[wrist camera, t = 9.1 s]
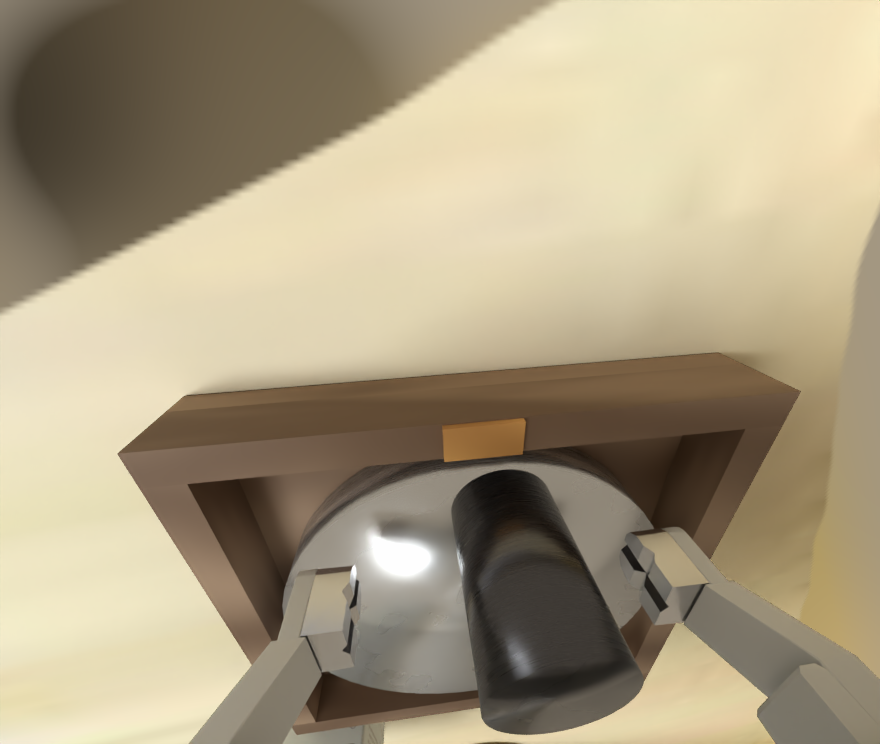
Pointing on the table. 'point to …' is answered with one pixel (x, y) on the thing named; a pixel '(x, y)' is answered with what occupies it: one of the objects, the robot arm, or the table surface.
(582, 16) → the table surface
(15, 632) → the table surface
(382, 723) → the supplement box
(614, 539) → the dial
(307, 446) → the dial housing
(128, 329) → the table surface
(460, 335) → the table surface
